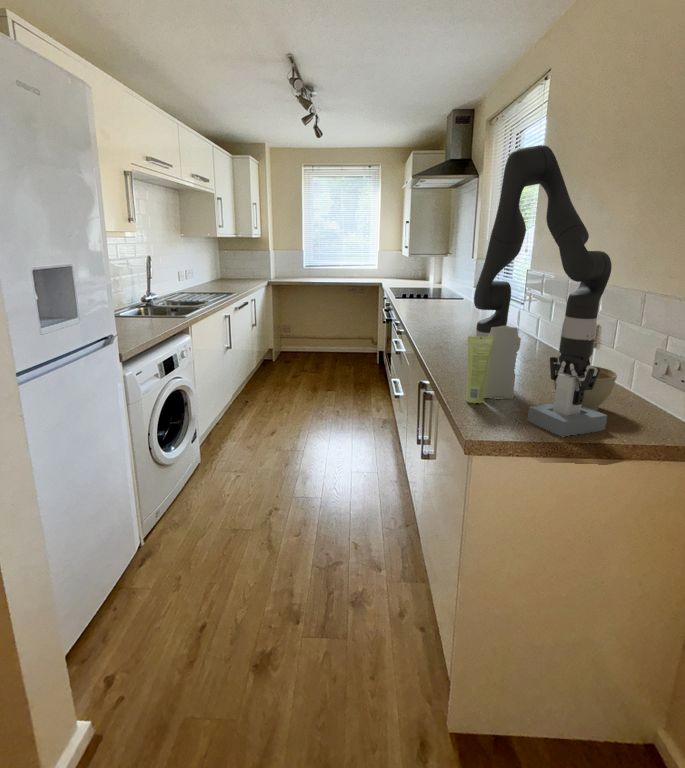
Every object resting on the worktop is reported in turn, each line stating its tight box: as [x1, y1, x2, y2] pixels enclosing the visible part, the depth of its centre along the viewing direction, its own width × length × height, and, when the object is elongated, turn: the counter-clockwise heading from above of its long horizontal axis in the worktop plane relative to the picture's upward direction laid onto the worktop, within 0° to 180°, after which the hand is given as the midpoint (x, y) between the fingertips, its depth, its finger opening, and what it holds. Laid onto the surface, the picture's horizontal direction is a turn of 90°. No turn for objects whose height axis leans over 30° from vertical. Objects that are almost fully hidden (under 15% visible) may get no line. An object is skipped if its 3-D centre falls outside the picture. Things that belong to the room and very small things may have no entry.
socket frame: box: [527, 402, 608, 438], centre depth 126 cm, size 12×14×4 cm
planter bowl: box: [552, 365, 618, 411], centre depth 139 cm, size 16×16×11 cm
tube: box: [465, 335, 493, 405], centre depth 142 cm, size 6×5×20 cm
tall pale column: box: [483, 325, 522, 400], centre depth 145 cm, size 11×4×22 cm, turn 93°
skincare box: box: [553, 373, 582, 417], centre depth 124 cm, size 6×4×12 cm
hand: (568, 401), depth 124 cm, fingers closed on skincare box, 5 cm apart
